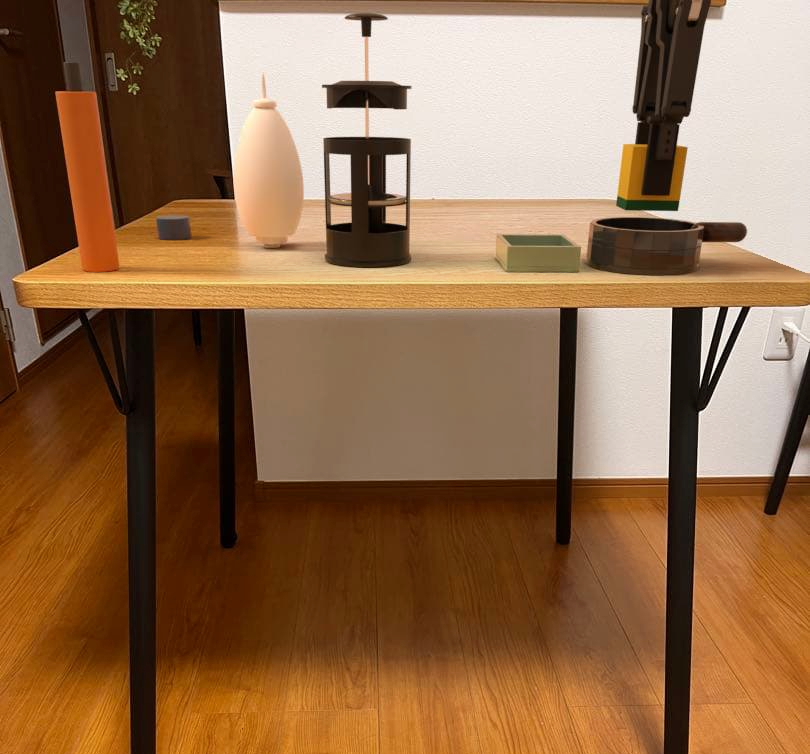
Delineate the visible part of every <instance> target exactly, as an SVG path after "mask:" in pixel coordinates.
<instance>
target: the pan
mask: <svg viewBox="0 0 810 754" xmlns="http://www.w3.org/2000/svg"><path fill="white" fill-rule="evenodd" d="M696 223H697V222H694V221H689V220H682V219H676V218H667V217H665V218H663V217H649V216H648V217H647V216H613V217H601V218H596V219H592V220H591V221H590V222H589V228H588V238H587V247H586V248H587V249H586V265H587V266H589V267H591V268H594V269H597V270H600V271H601V270H602V271H605V272H611V273H617V274H618V273H619V274H626V275H639V276H640V275H641V276H673V275H675V276H676V275H685V274H690V273H693V272H695V271H697V270H698V268H699V264H700V259H701V252H702V245H703V242H702V240H703V233H704V225H696V226H697V228H696V229H691V228H692V226H693V225H694V224H696Z"/></svg>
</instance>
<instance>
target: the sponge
mask: <svg viewBox="0 0 810 754" xmlns="http://www.w3.org/2000/svg"><path fill="white" fill-rule="evenodd" d="M646 153H647V145H646V144H635V143H624V144H623V145H622V153H621V161H620V170H619V178H618V187H617V195H616V204H615V205H616V207H618V208H619V209H622V210H624V211H635V212H636V211H639V212H640V211H641V212H643V211H645V212H678V211H679V207H680V201H681V194H682V187H683V182H684V175H685V168H686V161H687V156H688V155H687V154H688V146H683V145H678V144H677V147H676V154H675V161H674V168H673V175H672V181H671V188H670V195H669V196H653V195H641V191H642V184H643V176H644V169H645V161H646Z"/></svg>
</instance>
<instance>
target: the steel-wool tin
mask: <svg viewBox="0 0 810 754" xmlns="http://www.w3.org/2000/svg"><path fill="white" fill-rule="evenodd" d="M155 221H156V229H157V238H158V239H159V240H163V241H164V240H165V241H180V240H181V241H182V240H189V239H191V238H192V227H191V218H190V216H189V215H185V214H167V215H157V216H156V217H155Z"/></svg>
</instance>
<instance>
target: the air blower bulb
mask: <svg viewBox="0 0 810 754" xmlns="http://www.w3.org/2000/svg"><path fill="white" fill-rule="evenodd" d="M260 78H261V81H260V82H261V98H257V99H254V100H253V101H252V104H251V105H252V107H253V109H251V111H250V112H249V114H248V115H247V118H246V119H245V121H244V124H243V126H242V128H241V129H242V130H241V131H240V135H239V139H238V141H237V142H238V143H237V146H236V151H235V156H234V164H233V165H234V166H233V192H234V193H233V194H234V200H235V206H236V209H237V213H238V215H239V218H240V221H241V223H242V225H243V227H244V228H245V230H246V232H247V234H248V235H249V236H251V237H255V240H256V243H257V244H261V245H264V246H263V247H264V248H267V249H278V248H281V245H282V244H286V243H288V237H289V236H290V237H291V236H293V235H295V233H296V231H297V229H298V226H299V224H300V222H301V218H302V214H303V208H304V198H305V190H304V189H305V186H304V177H303V170H302V163H301V159H300V156H299V152H298V149H297V146H296V143H295V140H294V137H293V135H292V133H291V131H290V129H289V126H288V124H287V123H286V121H285V119H284V118H283V116H282V115H281V113H280V112H279V111H278V109H276V108H277V101H275V100H274V99H269V98H267V88H266V87H267V86H266V79H265V74H264V72H261V77H260Z"/></svg>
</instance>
